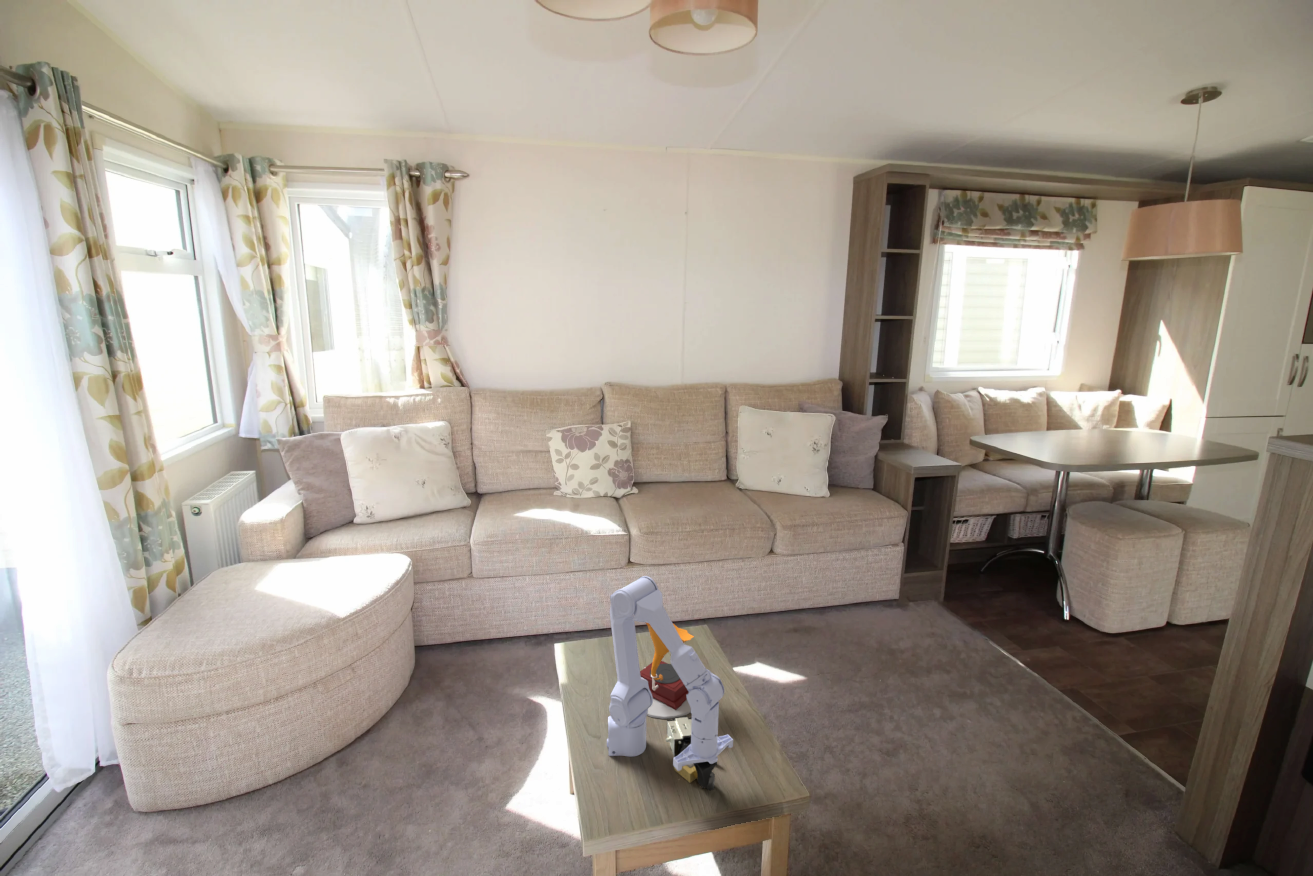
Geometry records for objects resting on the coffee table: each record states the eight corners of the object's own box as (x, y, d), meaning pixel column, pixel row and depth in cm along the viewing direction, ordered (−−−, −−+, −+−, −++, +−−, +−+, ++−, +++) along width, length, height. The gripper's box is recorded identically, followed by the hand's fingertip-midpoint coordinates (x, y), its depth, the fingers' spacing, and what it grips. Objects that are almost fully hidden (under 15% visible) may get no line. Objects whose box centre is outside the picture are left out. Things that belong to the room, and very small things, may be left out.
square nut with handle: (704, 795, 130) (705, 783, 130) (673, 769, 138) (674, 758, 137) (721, 783, 134) (721, 771, 133) (690, 758, 141) (690, 747, 140)
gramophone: (672, 734, 151) (674, 645, 145) (611, 702, 163) (610, 618, 157) (716, 693, 167) (719, 611, 161) (657, 666, 179) (658, 589, 173)
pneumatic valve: (720, 758, 141) (671, 764, 139) (707, 730, 153) (661, 735, 151) (721, 736, 141) (671, 741, 139) (707, 709, 152) (661, 714, 150)
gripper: (686, 754, 122) (685, 810, 125) (742, 730, 130) (740, 784, 133) (668, 733, 128) (667, 787, 131) (723, 711, 136) (721, 763, 138)
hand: (702, 784), depth 132 cm, fingers closed, pressing on square nut with handle
